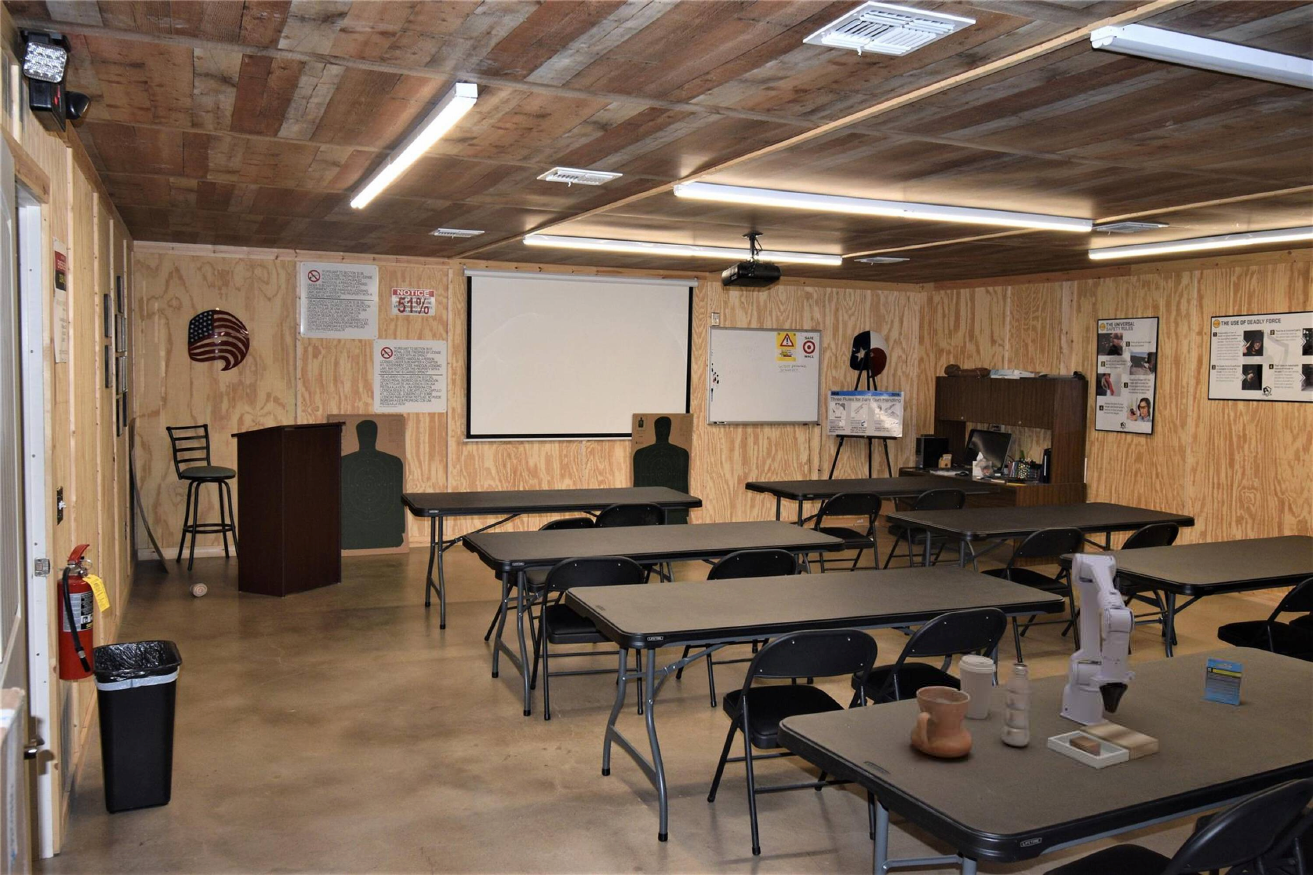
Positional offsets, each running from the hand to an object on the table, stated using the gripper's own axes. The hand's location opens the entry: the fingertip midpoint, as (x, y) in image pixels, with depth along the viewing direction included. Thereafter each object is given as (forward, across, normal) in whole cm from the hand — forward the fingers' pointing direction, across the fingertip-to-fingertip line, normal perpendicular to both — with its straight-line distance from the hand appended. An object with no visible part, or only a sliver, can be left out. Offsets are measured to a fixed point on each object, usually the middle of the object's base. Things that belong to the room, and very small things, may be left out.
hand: (1110, 711), depth 244 cm
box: (+9, -8, 0) cm, 12 cm away
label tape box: (+10, +64, +8) cm, 65 cm away
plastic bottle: (+10, -20, +12) cm, 25 cm away
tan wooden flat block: (+9, +4, 0) cm, 10 cm away
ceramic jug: (+10, -41, +16) cm, 45 cm away
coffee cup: (+10, -13, +31) cm, 35 cm away
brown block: (+6, -9, 0) cm, 11 cm away
